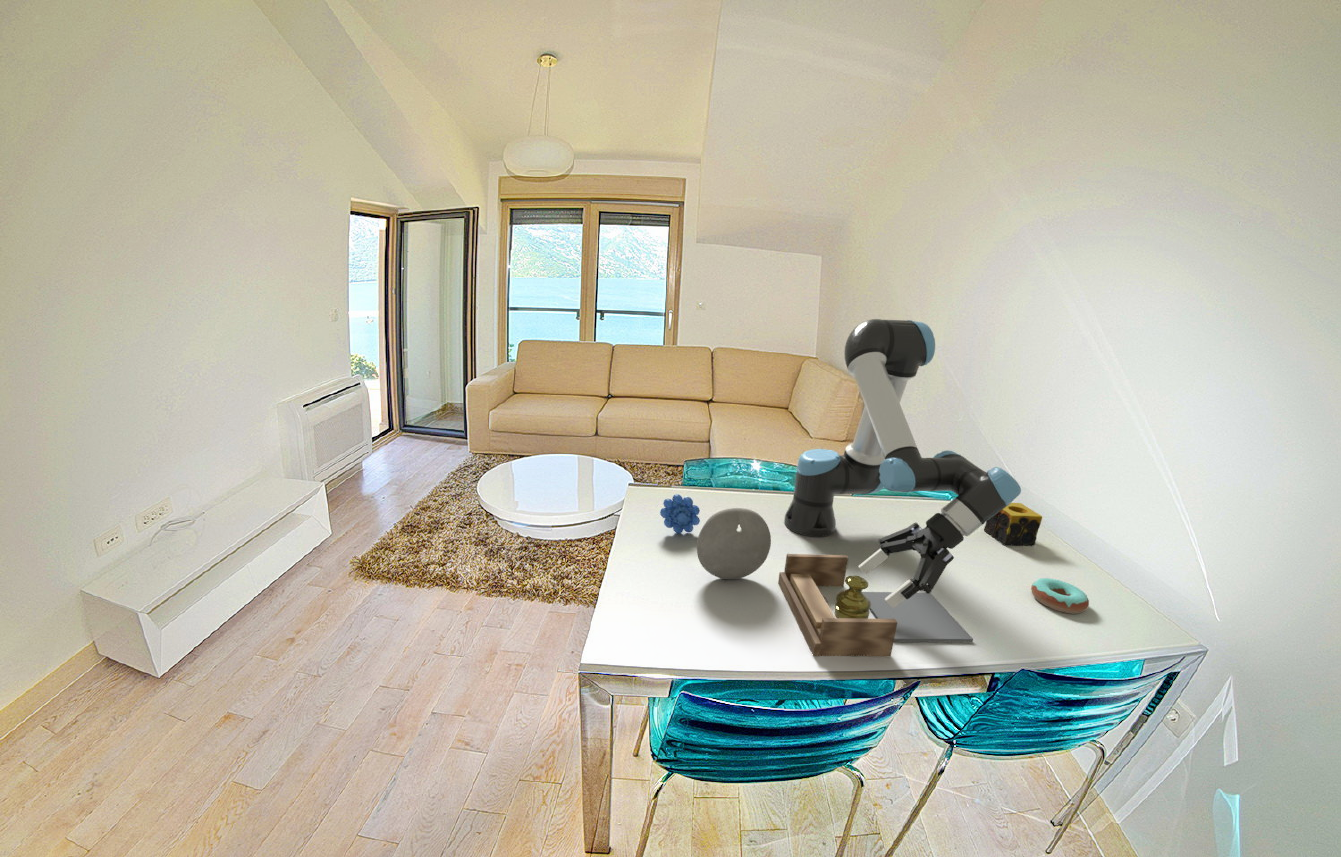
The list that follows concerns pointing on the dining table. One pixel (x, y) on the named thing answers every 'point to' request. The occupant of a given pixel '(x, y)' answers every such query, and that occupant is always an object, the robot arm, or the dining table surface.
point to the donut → (1060, 595)
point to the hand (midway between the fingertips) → (874, 586)
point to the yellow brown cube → (1014, 525)
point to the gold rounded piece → (853, 599)
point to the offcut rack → (818, 618)
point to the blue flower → (680, 514)
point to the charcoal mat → (918, 619)
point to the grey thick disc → (733, 543)
